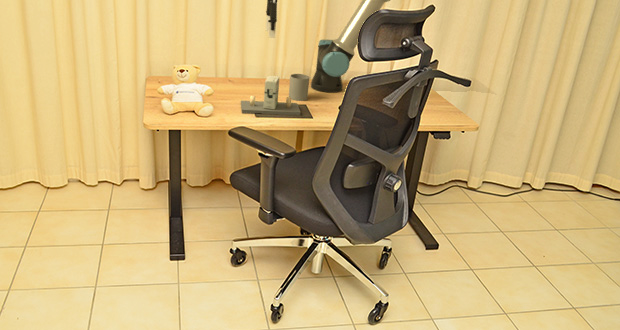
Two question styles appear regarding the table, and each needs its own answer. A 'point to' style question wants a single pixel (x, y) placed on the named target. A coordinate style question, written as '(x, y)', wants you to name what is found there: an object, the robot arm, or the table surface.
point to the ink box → (271, 92)
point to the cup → (298, 87)
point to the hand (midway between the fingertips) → (270, 34)
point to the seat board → (280, 109)
